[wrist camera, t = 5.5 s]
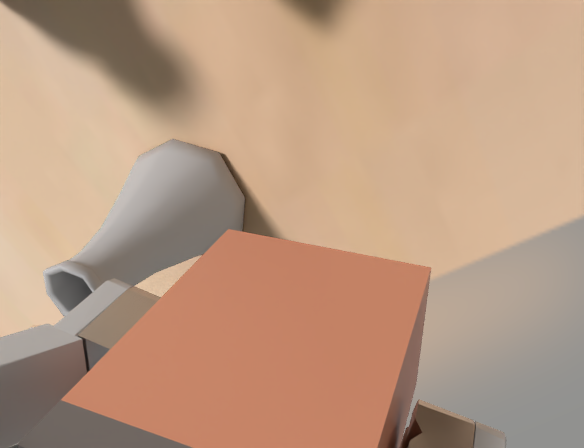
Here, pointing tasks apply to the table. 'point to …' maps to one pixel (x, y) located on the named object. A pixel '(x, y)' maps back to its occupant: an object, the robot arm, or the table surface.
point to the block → (258, 356)
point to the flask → (153, 222)
